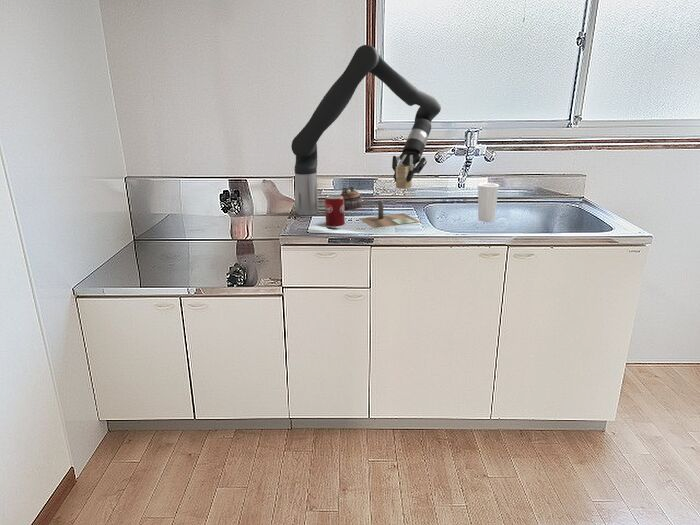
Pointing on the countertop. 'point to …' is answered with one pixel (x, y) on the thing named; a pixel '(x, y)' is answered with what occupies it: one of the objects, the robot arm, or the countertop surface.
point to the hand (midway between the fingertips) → (401, 180)
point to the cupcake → (351, 198)
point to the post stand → (388, 219)
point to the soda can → (334, 211)
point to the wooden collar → (402, 177)
